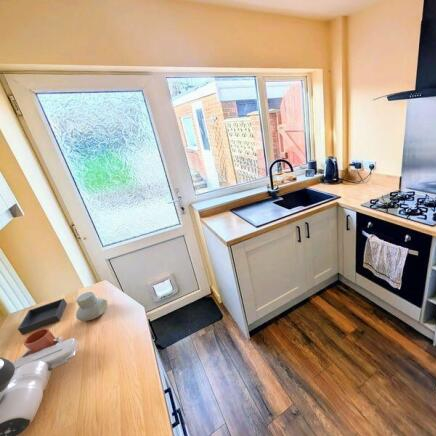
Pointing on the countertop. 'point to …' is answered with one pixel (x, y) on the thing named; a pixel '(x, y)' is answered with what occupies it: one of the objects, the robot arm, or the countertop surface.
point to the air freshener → (90, 306)
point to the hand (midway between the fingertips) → (45, 344)
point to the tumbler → (39, 340)
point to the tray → (42, 316)
